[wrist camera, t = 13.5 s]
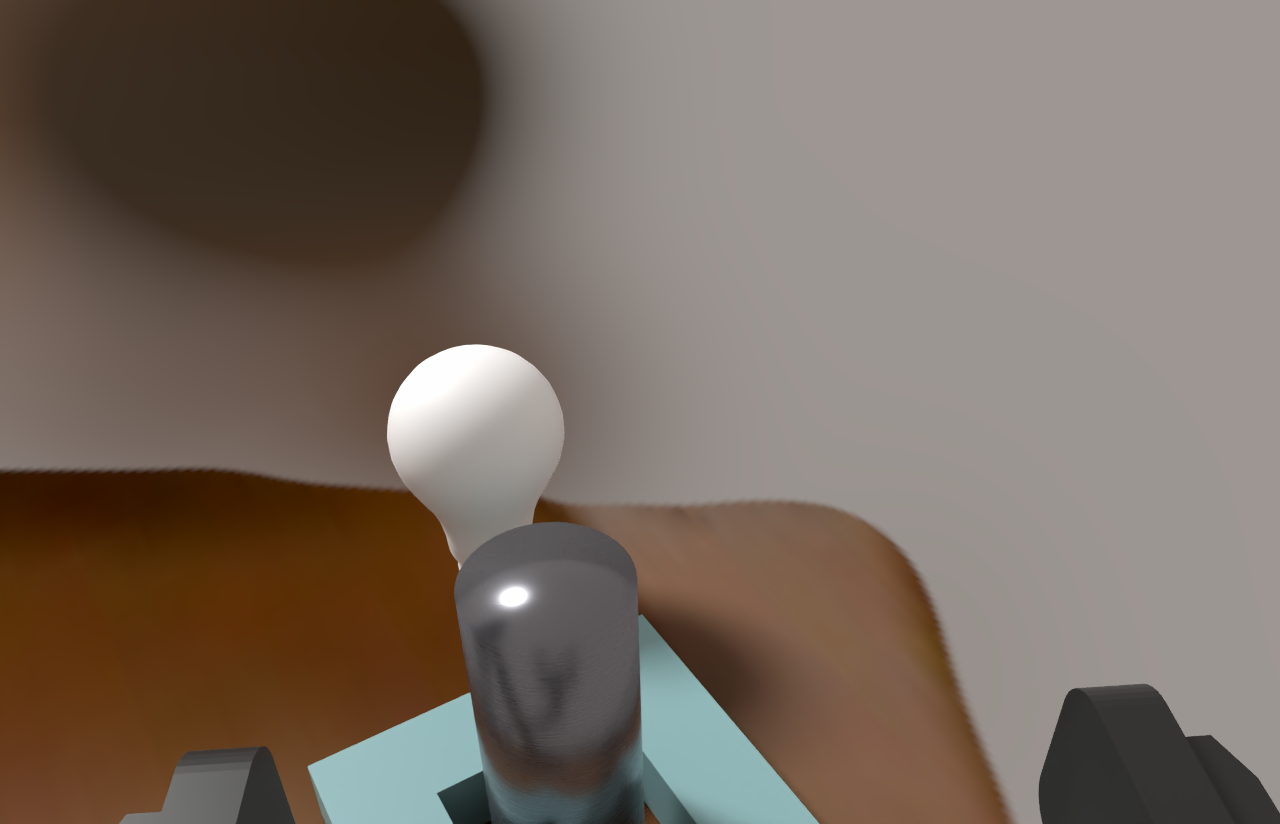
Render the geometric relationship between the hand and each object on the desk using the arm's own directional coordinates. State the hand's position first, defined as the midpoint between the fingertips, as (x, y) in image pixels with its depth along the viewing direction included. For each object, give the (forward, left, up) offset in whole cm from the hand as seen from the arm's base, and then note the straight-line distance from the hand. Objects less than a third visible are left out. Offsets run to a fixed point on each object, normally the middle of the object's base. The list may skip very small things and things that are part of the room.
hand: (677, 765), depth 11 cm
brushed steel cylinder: (+4, +12, -21) cm, 25 cm away
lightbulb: (+7, +24, -21) cm, 33 cm away
